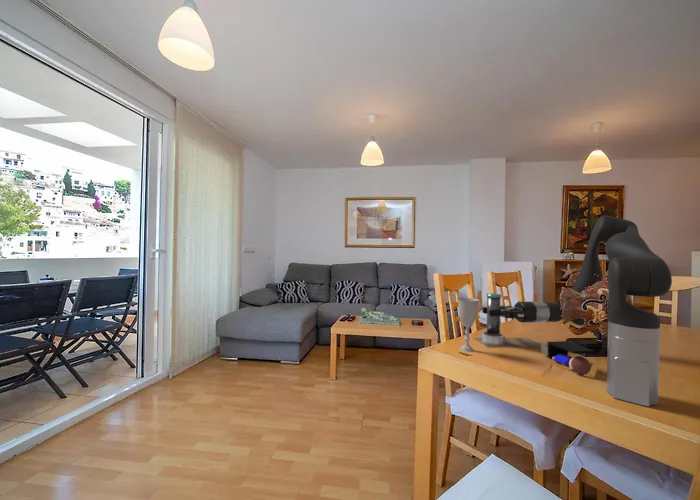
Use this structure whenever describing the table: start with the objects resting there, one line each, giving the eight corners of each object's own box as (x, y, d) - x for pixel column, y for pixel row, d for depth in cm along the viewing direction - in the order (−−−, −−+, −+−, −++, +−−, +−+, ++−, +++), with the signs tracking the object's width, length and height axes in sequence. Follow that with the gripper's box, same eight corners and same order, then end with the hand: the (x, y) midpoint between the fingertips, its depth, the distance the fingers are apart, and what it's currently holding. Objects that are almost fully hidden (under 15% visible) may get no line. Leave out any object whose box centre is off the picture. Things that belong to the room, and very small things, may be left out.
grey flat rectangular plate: (527, 341, 121) (527, 338, 121) (549, 351, 109) (549, 347, 109) (471, 340, 120) (471, 337, 120) (487, 350, 108) (487, 347, 108)
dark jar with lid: (497, 335, 111) (498, 295, 111) (483, 332, 114) (484, 294, 114) (502, 332, 114) (503, 294, 114) (488, 330, 118) (489, 293, 118)
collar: (500, 346, 109) (500, 338, 109) (478, 342, 114) (478, 333, 114) (507, 342, 114) (507, 334, 114) (485, 338, 120) (486, 330, 120)
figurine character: (539, 363, 101) (575, 376, 86) (538, 338, 102) (573, 348, 87) (559, 363, 101) (599, 377, 86) (558, 339, 102) (597, 348, 87)
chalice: (451, 350, 107) (452, 297, 107) (468, 349, 109) (469, 297, 109) (465, 357, 100) (466, 301, 100) (482, 355, 102) (484, 300, 102)
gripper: (520, 298, 122) (477, 298, 121) (544, 305, 108) (496, 304, 107) (519, 318, 122) (476, 317, 121) (544, 326, 108) (496, 326, 107)
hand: (486, 311), depth 114 cm, fingers closed on dark jar with lid, 4 cm apart
